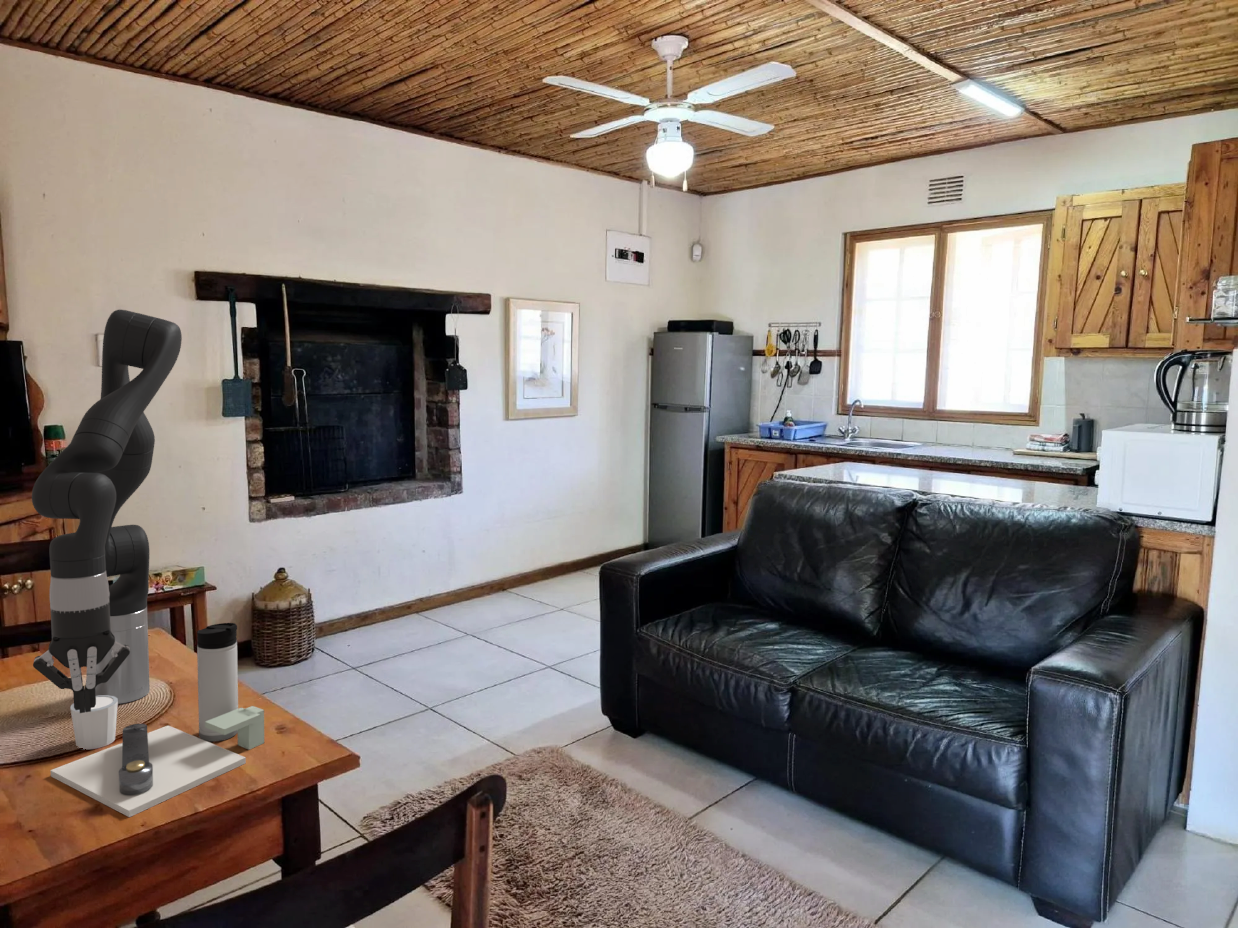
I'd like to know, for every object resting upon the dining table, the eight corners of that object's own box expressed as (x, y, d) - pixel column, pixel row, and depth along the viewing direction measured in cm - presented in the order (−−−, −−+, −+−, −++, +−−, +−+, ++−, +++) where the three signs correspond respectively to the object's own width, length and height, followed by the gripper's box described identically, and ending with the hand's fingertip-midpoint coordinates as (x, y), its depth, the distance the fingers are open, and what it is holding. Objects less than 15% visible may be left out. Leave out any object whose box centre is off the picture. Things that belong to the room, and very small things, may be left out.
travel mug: (224, 744, 139) (222, 632, 137) (190, 739, 140) (188, 628, 138) (247, 728, 145) (246, 621, 143) (215, 723, 147) (213, 617, 144)
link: (153, 790, 122) (152, 767, 121) (119, 797, 119) (118, 774, 119) (150, 738, 138) (149, 717, 137) (120, 743, 136) (119, 722, 135)
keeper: (205, 755, 135) (205, 721, 134) (249, 736, 142) (248, 704, 142) (224, 763, 133) (224, 729, 132) (268, 744, 140) (267, 711, 139)
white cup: (113, 728, 143) (112, 691, 142) (124, 742, 138) (122, 703, 137) (67, 740, 138) (65, 701, 137) (76, 755, 134) (75, 714, 133)
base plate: (50, 776, 127) (50, 770, 127) (168, 730, 143) (168, 725, 143) (129, 817, 117) (129, 810, 117) (245, 763, 133) (245, 757, 133)
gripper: (24, 614, 117) (31, 729, 119) (131, 602, 124) (135, 711, 126) (28, 601, 123) (35, 710, 125) (130, 590, 130) (134, 694, 132)
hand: (85, 710), depth 125 cm, fingers closed
